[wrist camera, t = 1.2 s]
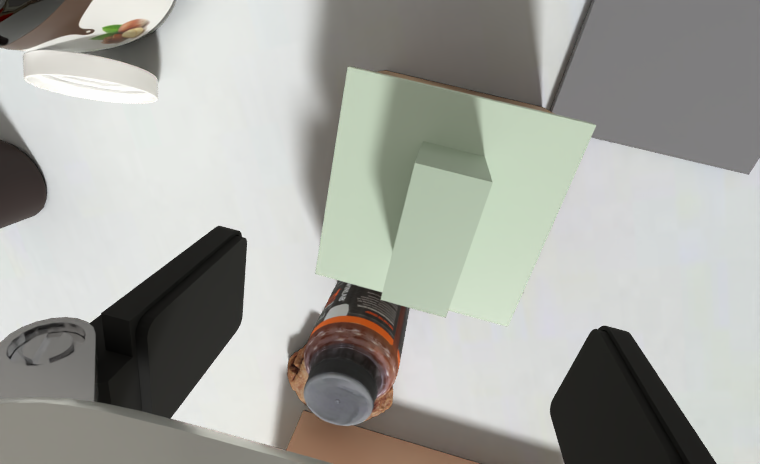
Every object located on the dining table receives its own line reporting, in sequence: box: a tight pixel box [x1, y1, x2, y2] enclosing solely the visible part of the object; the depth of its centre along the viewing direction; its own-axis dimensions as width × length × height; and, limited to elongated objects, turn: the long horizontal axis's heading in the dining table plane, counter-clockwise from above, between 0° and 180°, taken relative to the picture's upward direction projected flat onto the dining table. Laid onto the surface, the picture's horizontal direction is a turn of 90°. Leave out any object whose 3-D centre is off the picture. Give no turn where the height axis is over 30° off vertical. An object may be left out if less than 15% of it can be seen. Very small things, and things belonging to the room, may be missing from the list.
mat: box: [550, 0, 760, 175], centre depth 21 cm, size 12×12×1 cm
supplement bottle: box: [304, 281, 409, 426], centre depth 26 cm, size 6×6×11 cm
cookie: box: [287, 344, 393, 422], centre depth 34 cm, size 10×11×3 cm
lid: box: [315, 66, 596, 327], centre depth 18 cm, size 11×11×6 cm
